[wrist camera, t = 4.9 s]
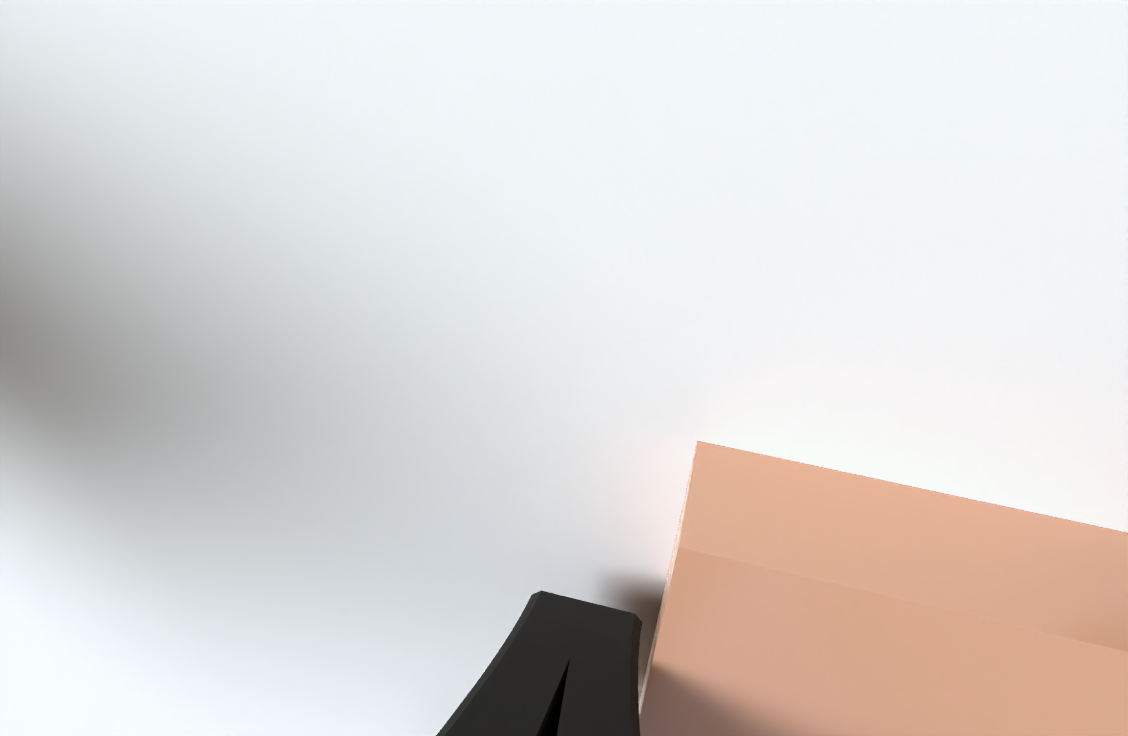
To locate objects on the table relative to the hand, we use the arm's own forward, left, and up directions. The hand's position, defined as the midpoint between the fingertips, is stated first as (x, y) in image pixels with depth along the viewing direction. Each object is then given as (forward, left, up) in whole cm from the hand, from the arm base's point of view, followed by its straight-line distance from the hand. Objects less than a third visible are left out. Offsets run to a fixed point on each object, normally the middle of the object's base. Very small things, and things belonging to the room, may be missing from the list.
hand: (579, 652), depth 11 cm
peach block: (0, -4, -1) cm, 4 cm away
